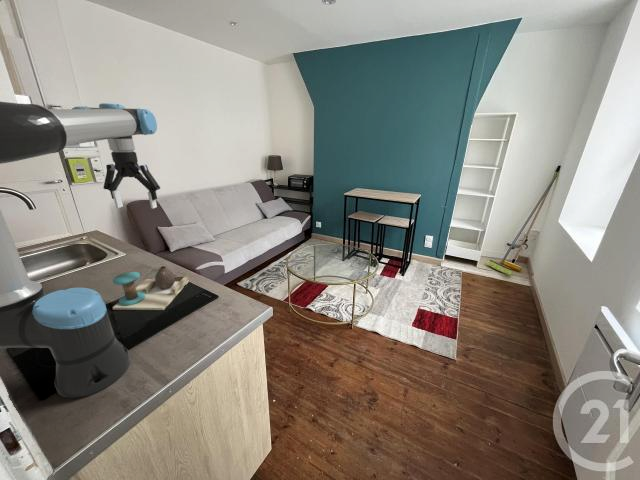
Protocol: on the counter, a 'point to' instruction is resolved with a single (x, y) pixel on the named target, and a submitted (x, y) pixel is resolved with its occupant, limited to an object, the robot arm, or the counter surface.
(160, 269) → the vase
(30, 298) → the robot arm
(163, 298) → the jig board
